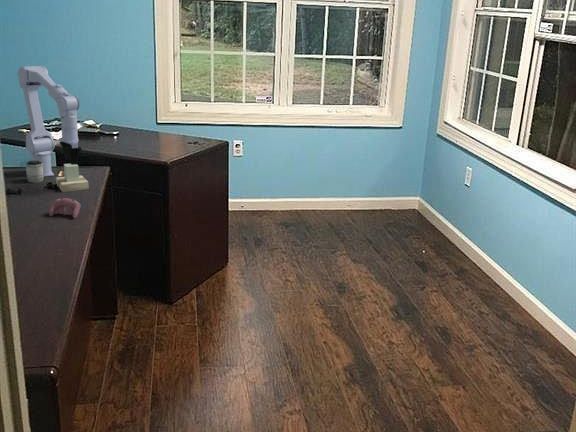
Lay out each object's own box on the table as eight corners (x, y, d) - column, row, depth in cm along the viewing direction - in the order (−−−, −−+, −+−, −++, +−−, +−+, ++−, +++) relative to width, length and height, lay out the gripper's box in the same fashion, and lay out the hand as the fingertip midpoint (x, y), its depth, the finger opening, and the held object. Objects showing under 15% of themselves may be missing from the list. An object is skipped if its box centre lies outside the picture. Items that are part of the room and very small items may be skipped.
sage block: (64, 178, 239) (63, 164, 237) (76, 177, 241) (75, 163, 239) (67, 181, 236) (66, 167, 234) (79, 180, 238) (78, 166, 236)
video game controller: (80, 220, 211) (83, 200, 212) (75, 218, 207) (78, 198, 208) (53, 217, 212) (55, 197, 213) (47, 215, 208) (50, 195, 208)
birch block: (56, 184, 241) (56, 177, 240) (82, 182, 246) (81, 175, 245) (62, 192, 233) (62, 184, 232) (88, 189, 238) (88, 182, 237)
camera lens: (31, 177, 247) (29, 159, 244) (46, 179, 247) (45, 160, 244) (24, 182, 241) (22, 163, 238) (39, 183, 241) (38, 164, 238)
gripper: (54, 124, 235) (56, 157, 240) (63, 132, 224) (65, 167, 228) (72, 123, 239) (74, 156, 243) (82, 131, 227) (84, 165, 232)
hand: (71, 161), depth 236 cm, fingers open, 7 cm apart
